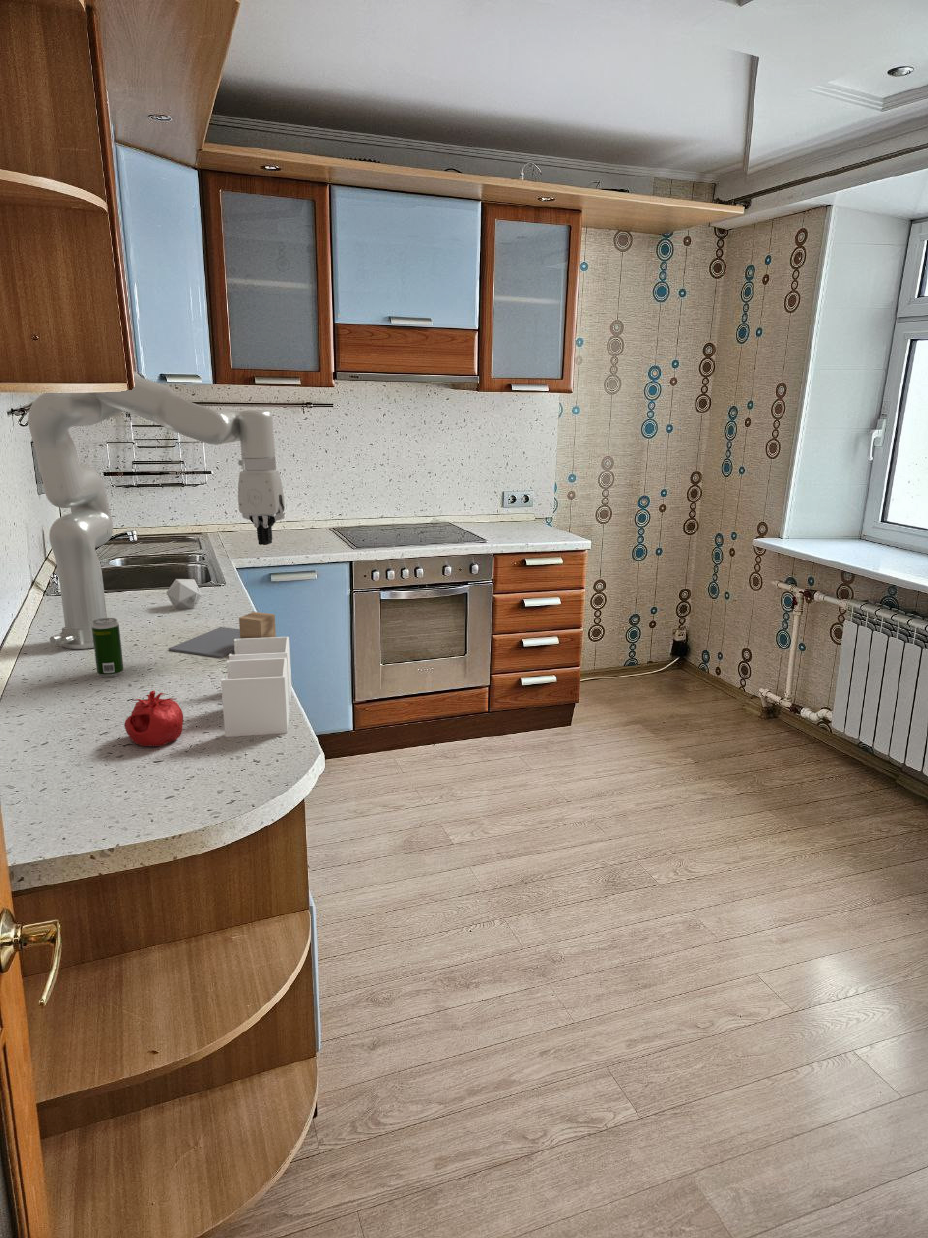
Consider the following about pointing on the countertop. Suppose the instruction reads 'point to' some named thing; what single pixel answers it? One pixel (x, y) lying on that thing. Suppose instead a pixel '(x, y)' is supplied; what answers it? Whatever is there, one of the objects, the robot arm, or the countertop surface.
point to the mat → (210, 643)
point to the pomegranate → (154, 721)
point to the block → (257, 625)
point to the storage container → (257, 687)
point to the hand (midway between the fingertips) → (265, 543)
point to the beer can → (107, 647)
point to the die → (184, 594)
